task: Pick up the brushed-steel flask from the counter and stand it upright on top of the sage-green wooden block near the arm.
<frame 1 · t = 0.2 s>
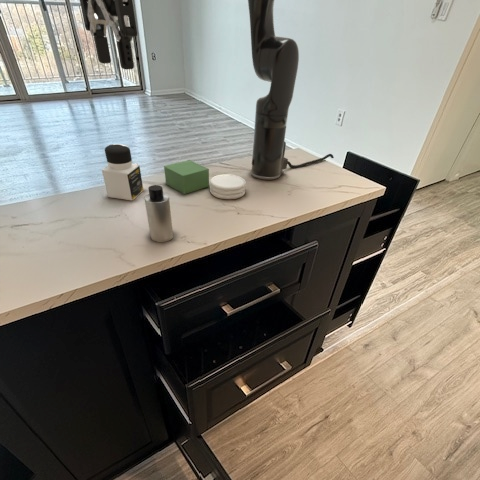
hand: (116, 65, 58), 29 cm above the worktop, tool pointing down, fingers open, 8 cm apart
block: (187, 185, 93), on the worktop
white short cylinder: (227, 193, 91), on the worktop
medicine bottle: (126, 194, 87), on the worktop
flask: (162, 236, 72), on the worktop
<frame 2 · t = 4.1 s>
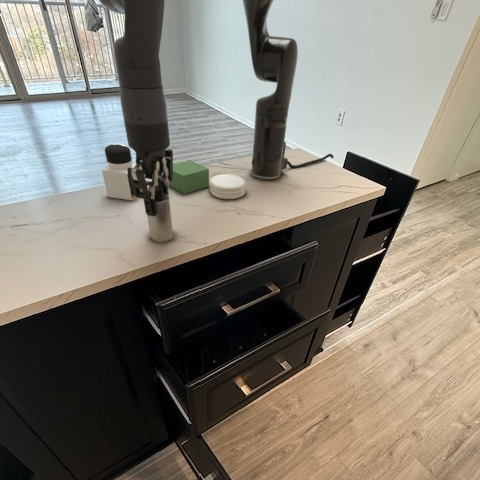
hand: (158, 209, 67), 6 cm above the worktop, tool pointing down, fingers closed on flask, 5 cm apart
flask: (162, 236, 72), on the worktop, touching gripper
everything else where it was.
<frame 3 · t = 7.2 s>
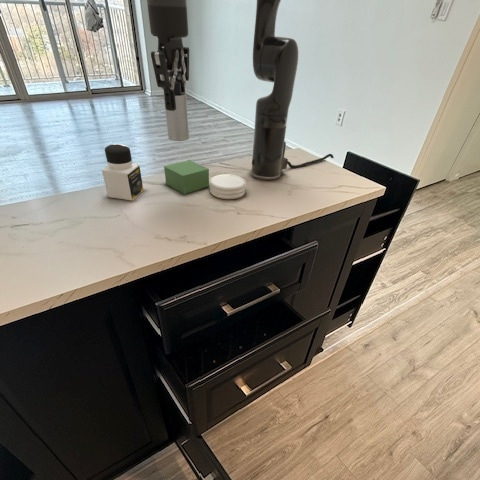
hand: (176, 107, 73), 21 cm above the worktop, tool pointing down, fingers closed on flask, 5 cm apart
flask: (178, 138, 77), point 14 cm above the worktop, touching gripper
everything else where it was.
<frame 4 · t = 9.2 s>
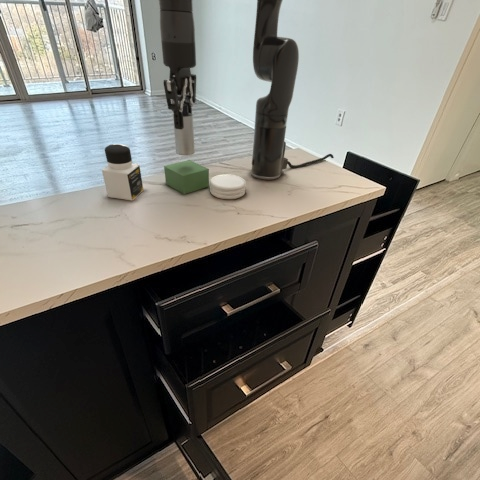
hand: (183, 125, 82), 15 cm above the worktop, tool pointing down, fingers closed on flask, 5 cm apart
flask: (185, 152, 87), point 9 cm above the worktop, touching gripper
everything else where it was.
when the fingers open (11 cm above the worktop, at t = 10.7 s): flask stays where it is, resting on block.
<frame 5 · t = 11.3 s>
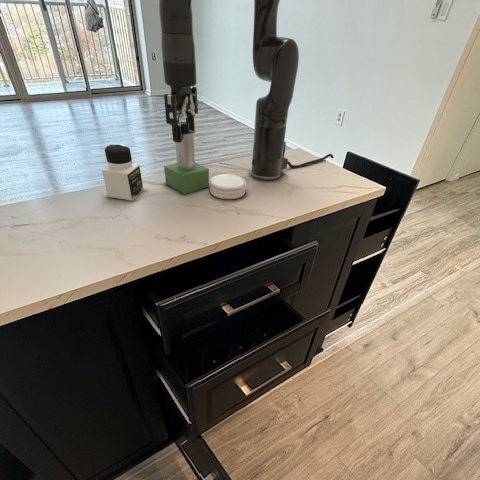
hand: (184, 137, 84), 13 cm above the worktop, tool pointing down, fingers open, 8 cm apart
flask: (186, 167, 90), point 5 cm above the worktop, touching block
everything else where it was.
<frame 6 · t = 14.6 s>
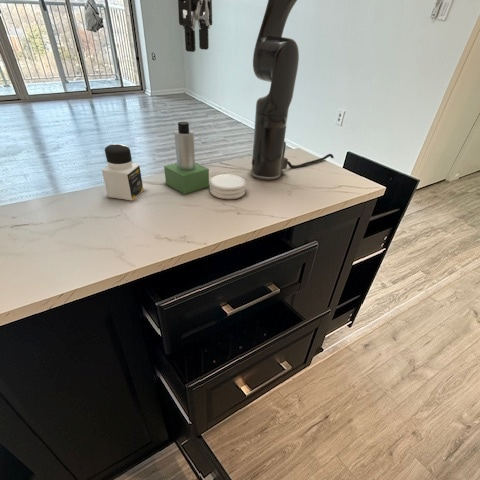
hand: (197, 50, 77), 30 cm above the worktop, tool pointing down, fingers open, 8 cm apart
nothing on the worktop moved.
at the end: flask 0.1 cm off-centre on the block, point 5.0 cm above the block's base; flask tilted 0°; the gripper is holding nothing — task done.
